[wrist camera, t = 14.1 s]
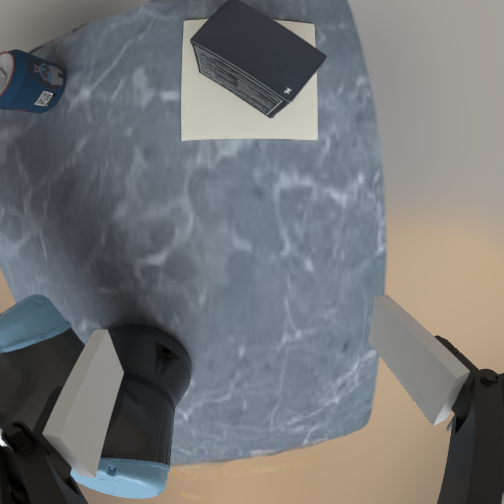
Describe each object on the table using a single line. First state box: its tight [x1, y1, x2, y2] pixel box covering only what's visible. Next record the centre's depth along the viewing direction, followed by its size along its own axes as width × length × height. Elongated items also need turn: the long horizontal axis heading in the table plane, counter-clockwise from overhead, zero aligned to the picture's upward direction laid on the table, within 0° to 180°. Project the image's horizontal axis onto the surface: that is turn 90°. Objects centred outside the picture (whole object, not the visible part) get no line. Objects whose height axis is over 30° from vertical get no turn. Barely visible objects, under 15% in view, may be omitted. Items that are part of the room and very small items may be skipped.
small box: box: [190, 0, 327, 118], centre depth 24 cm, size 11×6×10 cm, turn 55°
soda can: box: [0, 50, 65, 113], centre depth 21 cm, size 7×7×12 cm
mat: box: [181, 19, 318, 141], centre depth 29 cm, size 16×16×1 cm
